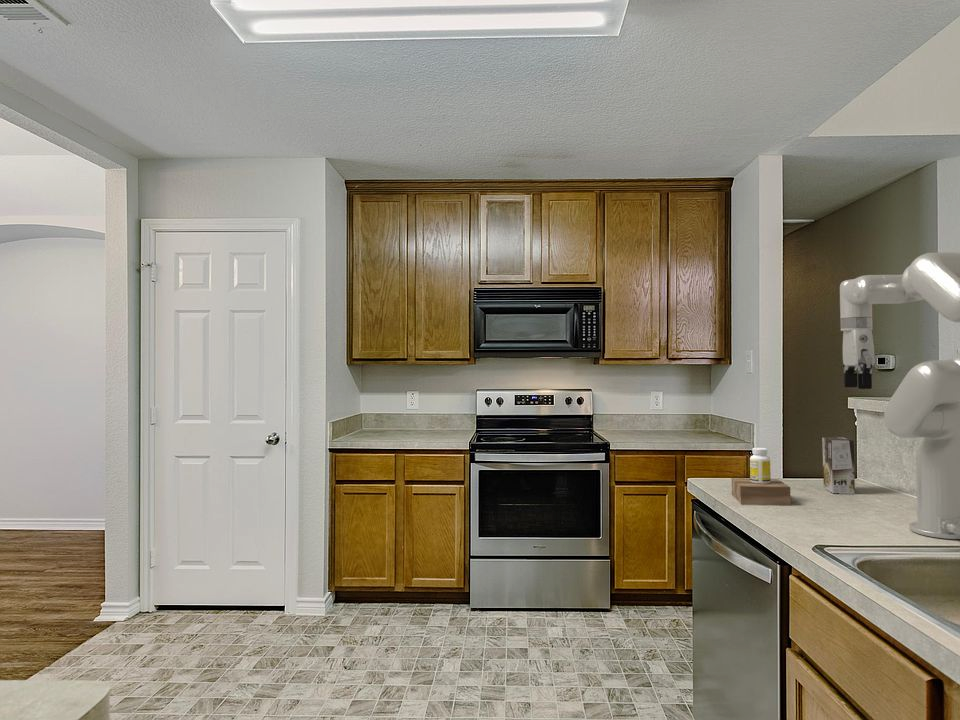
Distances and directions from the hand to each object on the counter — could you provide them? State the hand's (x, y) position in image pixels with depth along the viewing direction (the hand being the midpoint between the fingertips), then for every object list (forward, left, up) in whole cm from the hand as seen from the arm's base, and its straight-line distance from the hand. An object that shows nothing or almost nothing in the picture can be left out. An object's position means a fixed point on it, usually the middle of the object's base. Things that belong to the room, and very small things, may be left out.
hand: (857, 388), depth 178 cm
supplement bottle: (+7, +24, -28) cm, 37 cm away
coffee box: (+22, -2, -32) cm, 39 cm away
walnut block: (+7, +24, -32) cm, 41 cm away
